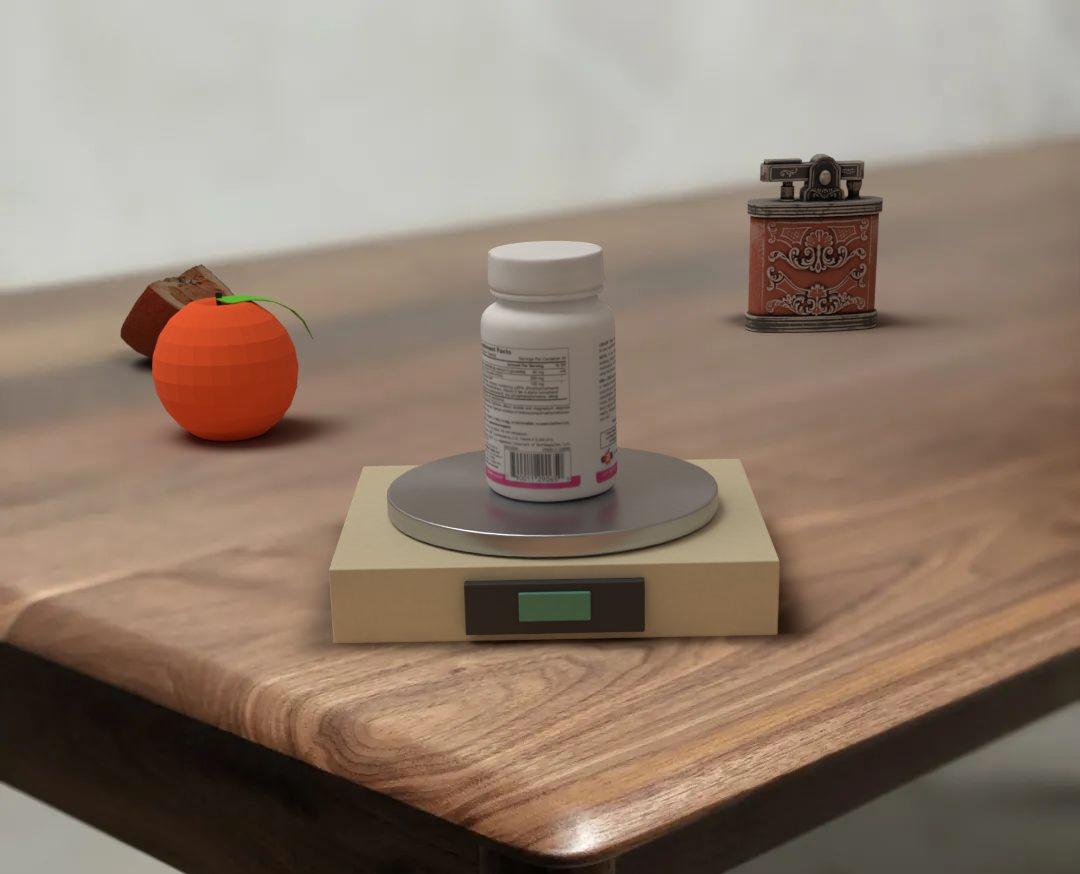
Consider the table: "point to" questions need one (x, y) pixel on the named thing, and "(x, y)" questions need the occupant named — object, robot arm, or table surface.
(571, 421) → the pill bottle
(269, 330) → the clementine
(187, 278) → the brown block
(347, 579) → the scale
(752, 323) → the lighter
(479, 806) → the table surface
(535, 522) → the pan
